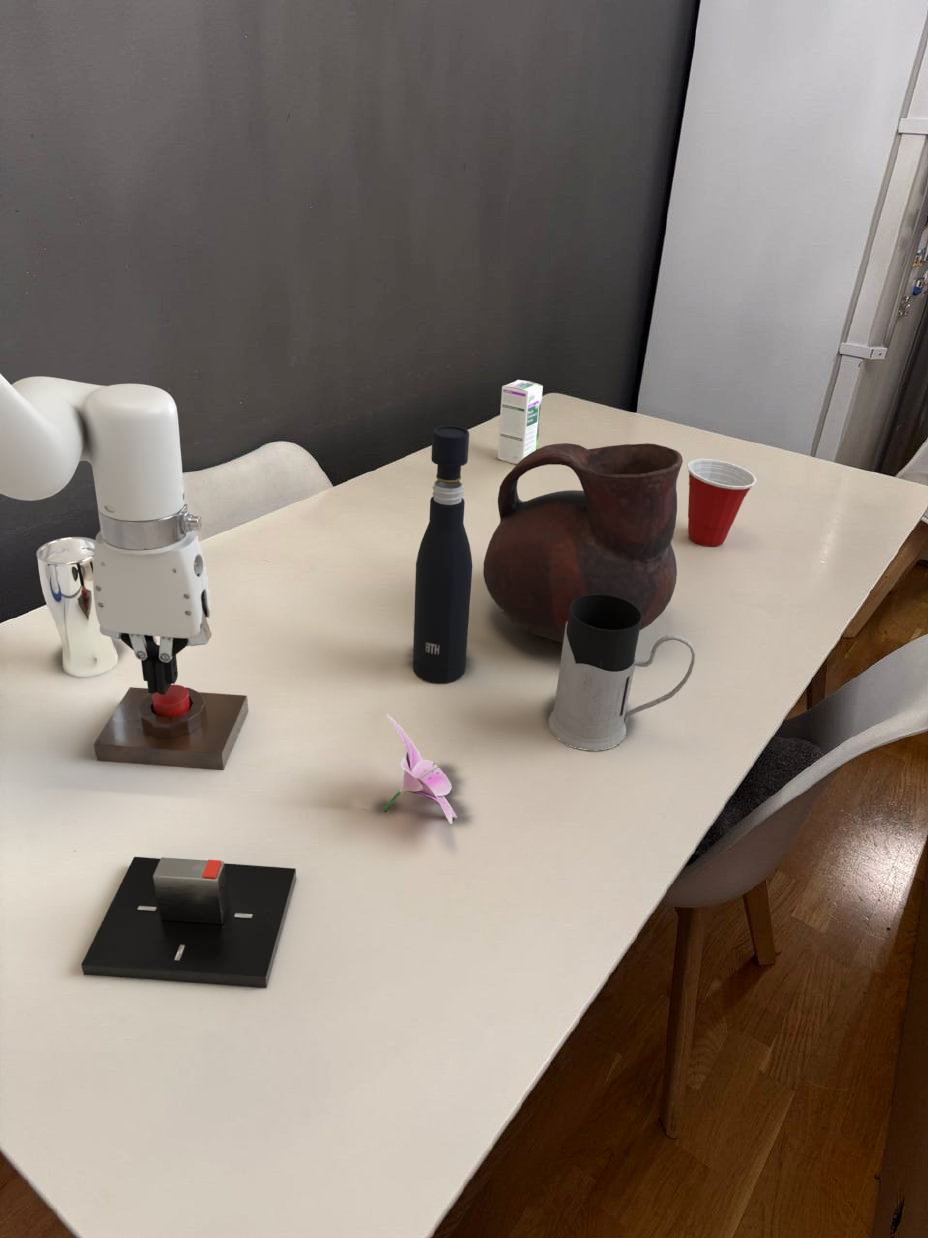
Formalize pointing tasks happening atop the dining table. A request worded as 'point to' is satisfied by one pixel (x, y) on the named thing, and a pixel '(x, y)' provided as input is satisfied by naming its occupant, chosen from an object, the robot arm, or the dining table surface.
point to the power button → (171, 702)
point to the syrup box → (519, 420)
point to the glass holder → (600, 672)
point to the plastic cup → (715, 499)
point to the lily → (422, 776)
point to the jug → (586, 535)
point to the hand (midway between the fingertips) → (161, 686)
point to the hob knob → (191, 890)
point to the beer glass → (75, 605)
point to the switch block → (173, 731)
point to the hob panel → (194, 931)
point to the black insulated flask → (444, 568)
